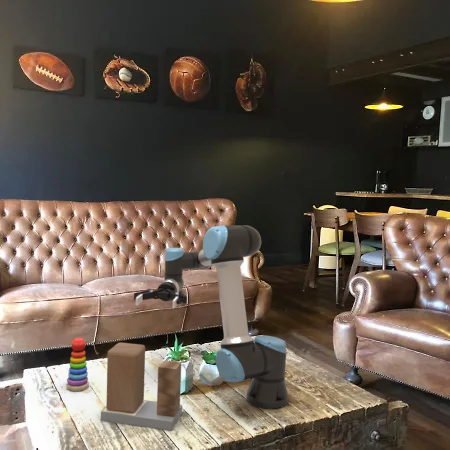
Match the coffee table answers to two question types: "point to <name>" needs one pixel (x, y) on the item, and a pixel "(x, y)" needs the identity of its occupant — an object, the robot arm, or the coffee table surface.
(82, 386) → the stacking toy
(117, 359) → the block
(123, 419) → the foundation
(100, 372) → the coffee table surface
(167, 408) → the walnut pillar
